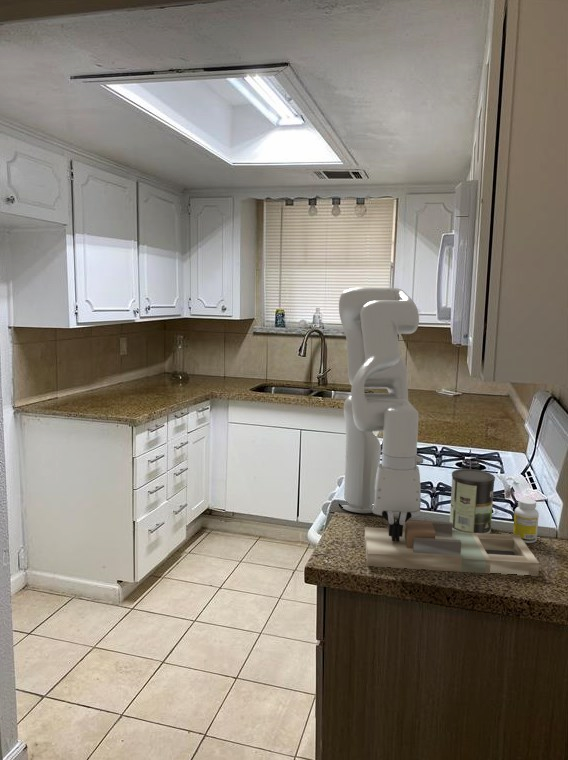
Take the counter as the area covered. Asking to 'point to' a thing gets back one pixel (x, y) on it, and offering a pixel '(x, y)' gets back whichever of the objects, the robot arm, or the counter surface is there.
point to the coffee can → (471, 501)
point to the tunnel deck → (451, 551)
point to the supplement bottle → (526, 520)
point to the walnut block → (418, 531)
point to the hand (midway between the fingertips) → (395, 538)
